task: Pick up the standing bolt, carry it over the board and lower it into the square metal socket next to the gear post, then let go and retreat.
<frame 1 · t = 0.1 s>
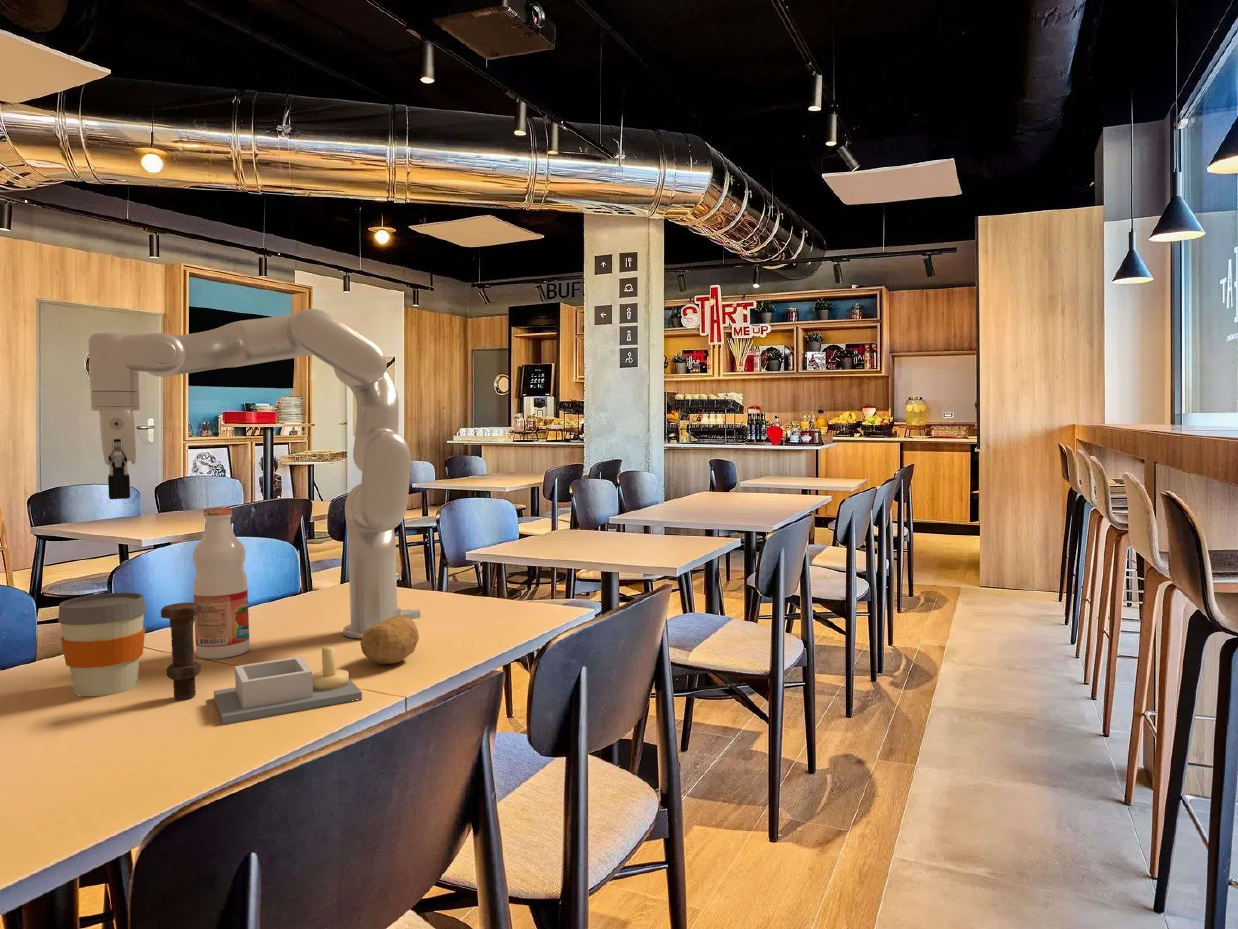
hand: (119, 496, 151), 31 cm above the table, tool pointing down, fingers open, 9 cm apart
bolt: (185, 698, 134), on the table
fruit juice: (223, 654, 161), on the table
potato: (391, 662, 153), on the table
reusable coffee cup: (106, 689, 140), on the table
board: (287, 699, 133), on the table
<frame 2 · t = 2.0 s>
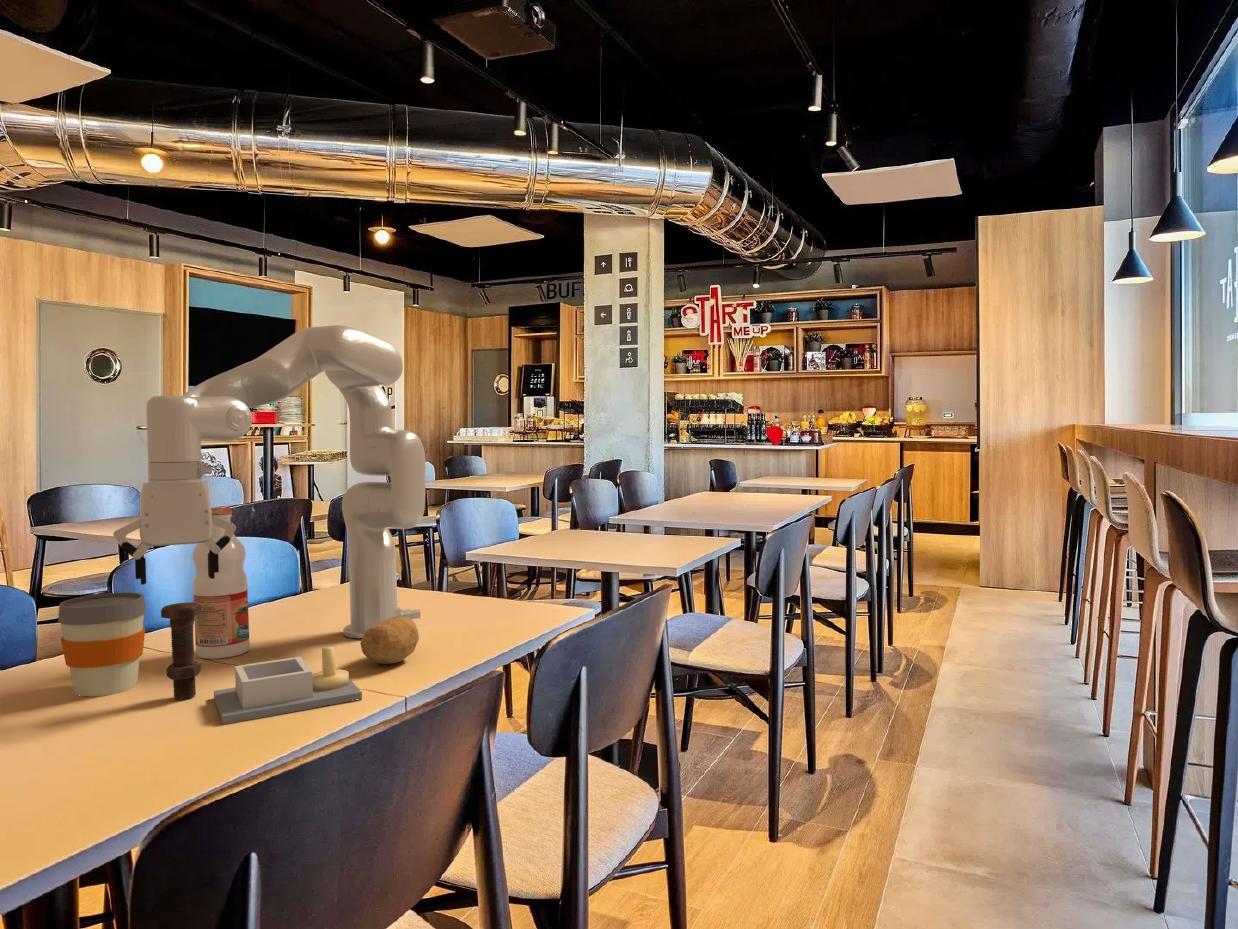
hand: (178, 580, 133), 19 cm above the table, tool pointing down, fingers open, 9 cm apart
nothing on the table moved.
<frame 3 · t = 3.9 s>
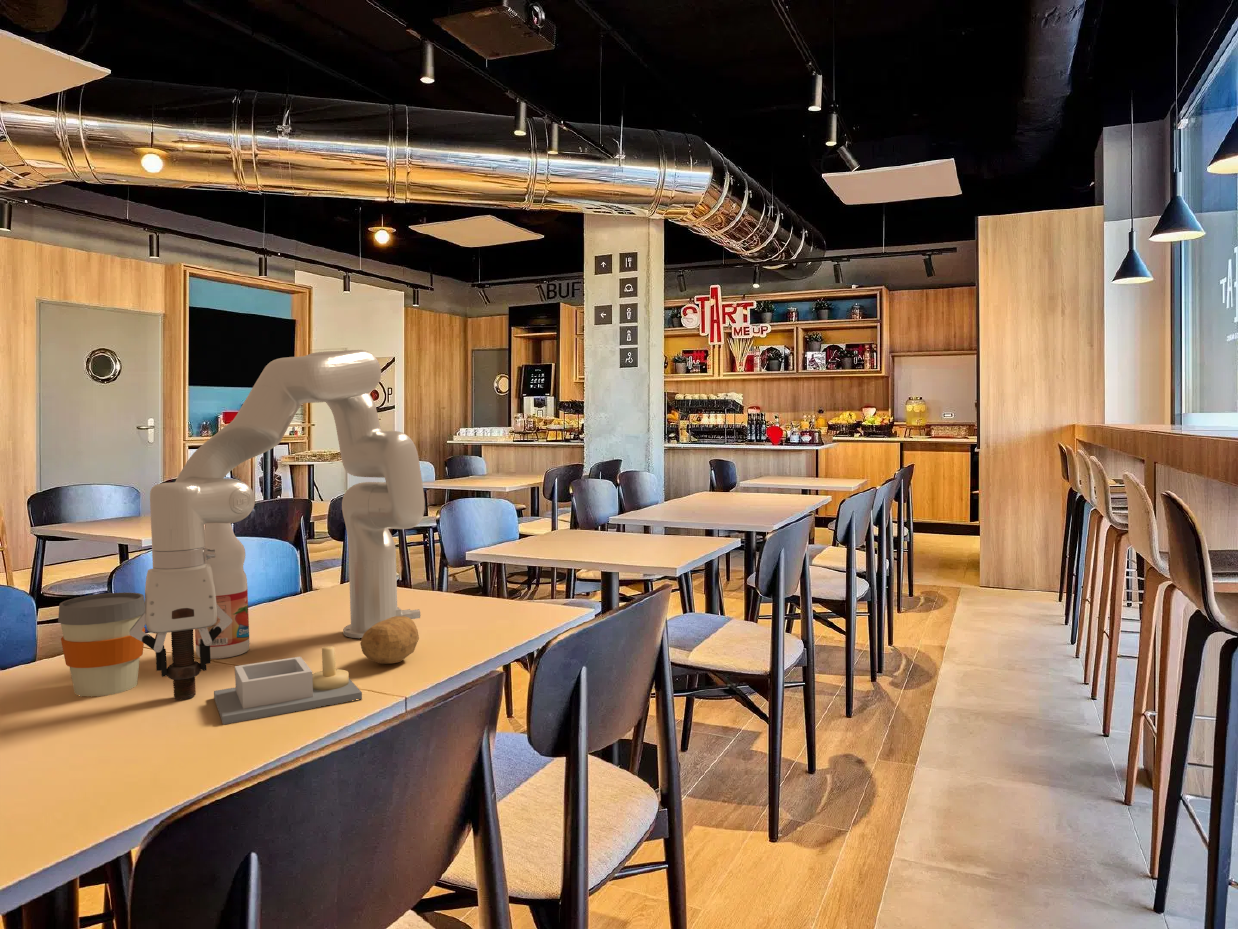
hand: (183, 670, 134), 4 cm above the table, tool pointing down, fingers closed on bolt, 5 cm apart
bolt: (184, 698, 134), on the table, touching gripper
everything else where it was.
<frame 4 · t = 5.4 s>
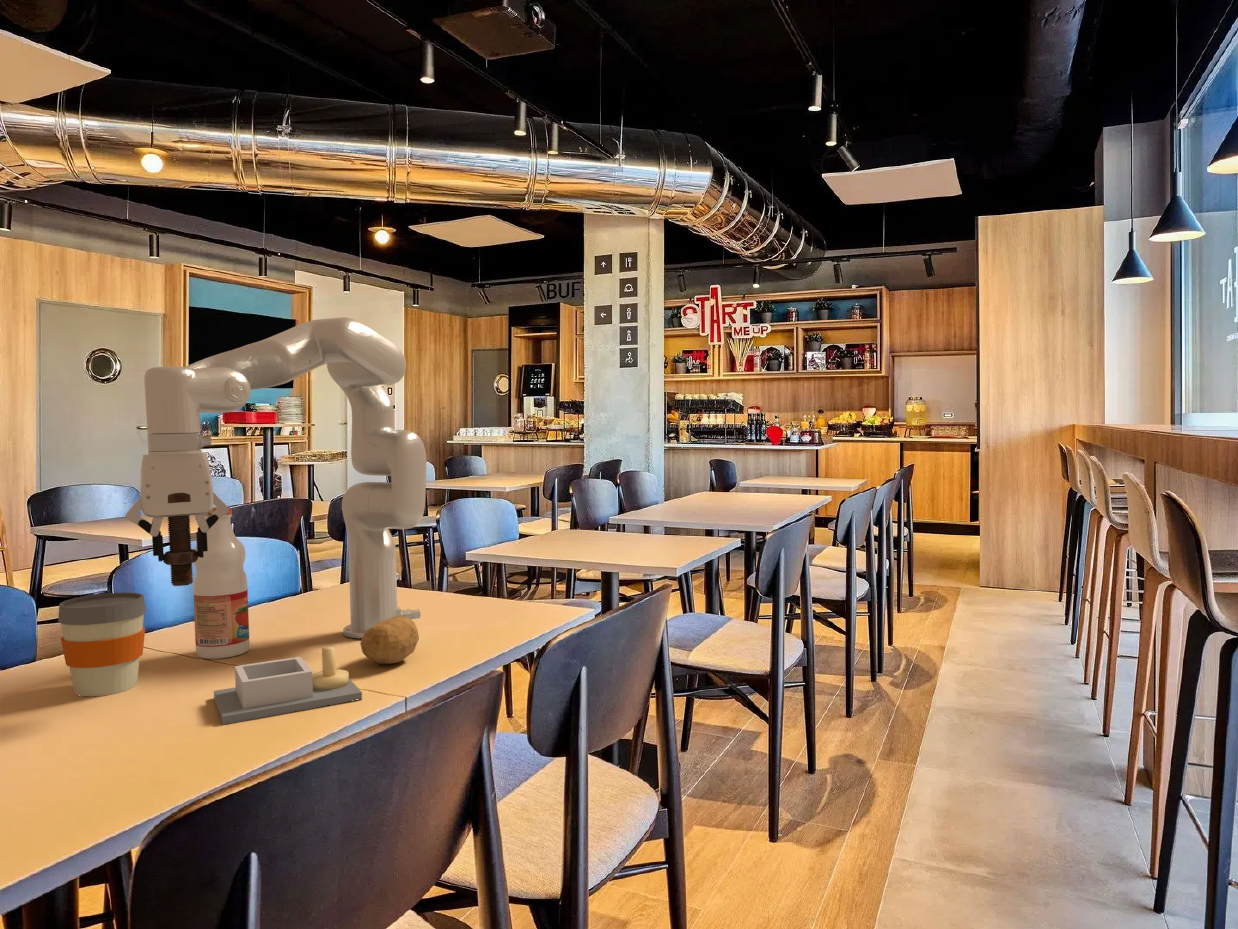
hand: (180, 557, 133), 23 cm above the table, tool pointing down, fingers closed on bolt, 5 cm apart
bolt: (182, 585, 134), point 18 cm above the table, touching gripper
everything else where it was.
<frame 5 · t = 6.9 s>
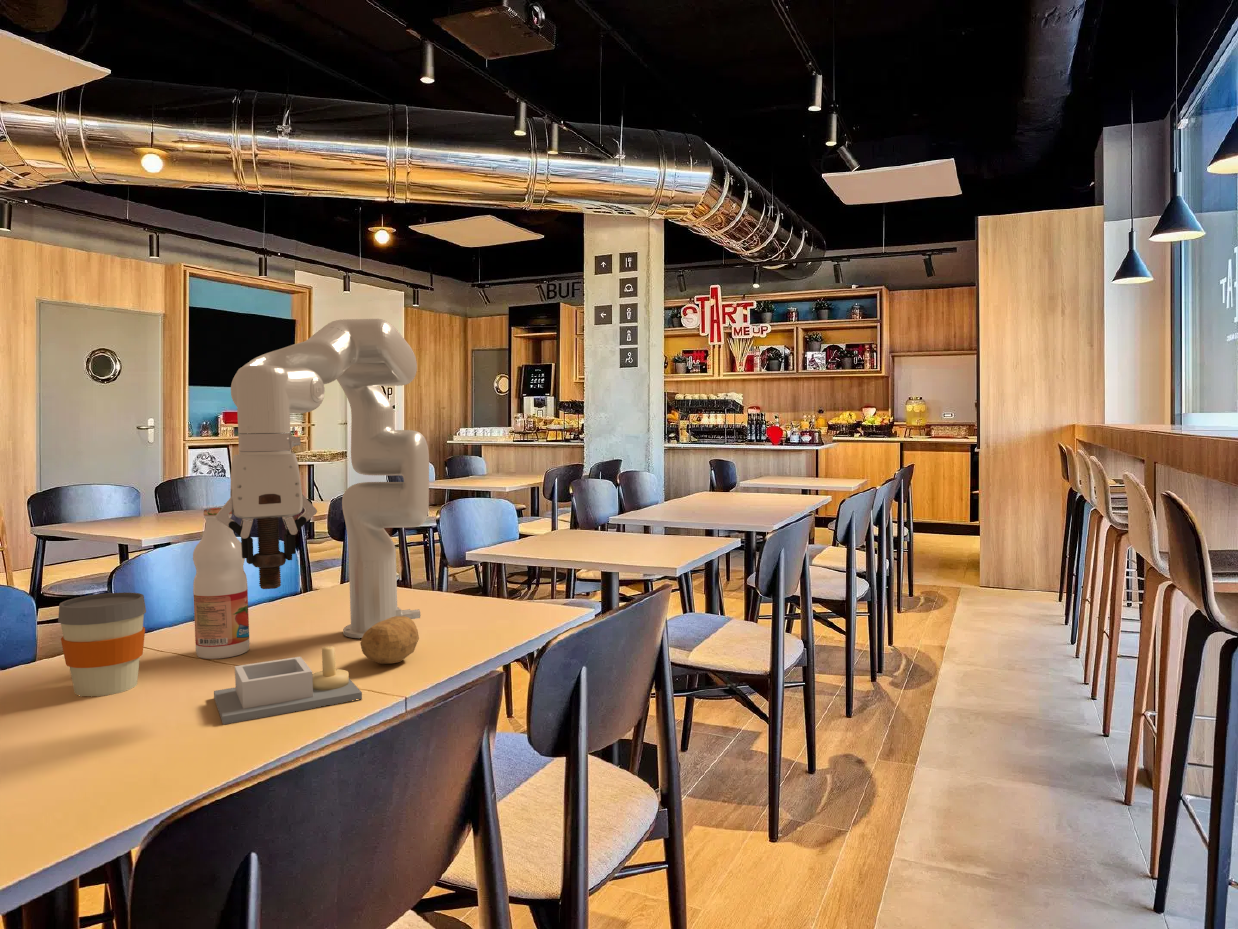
hand: (269, 559, 131), 23 cm above the table, tool pointing down, fingers closed on bolt, 5 cm apart
bolt: (270, 589, 131), point 18 cm above the table, touching gripper
everything else where it was.
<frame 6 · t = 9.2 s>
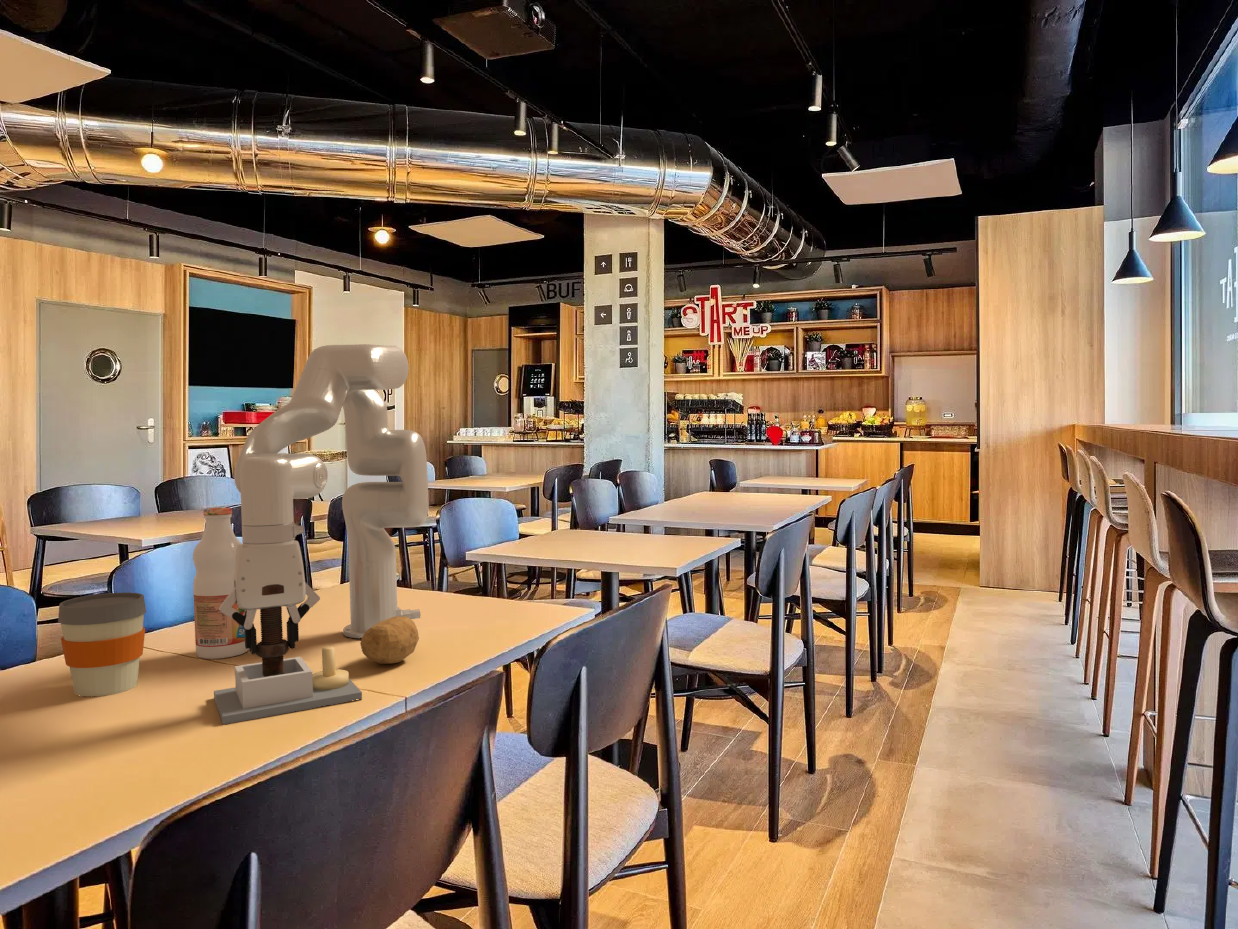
hand: (272, 648, 131), 8 cm above the table, tool pointing down, fingers closed on bolt, 5 cm apart
bolt: (273, 677, 131), point 4 cm above the table, touching gripper
everything else where it was.
when the fingers open (7 cm above the table, at t = 10.0 s): bolt drops 2 cm, resting on board.
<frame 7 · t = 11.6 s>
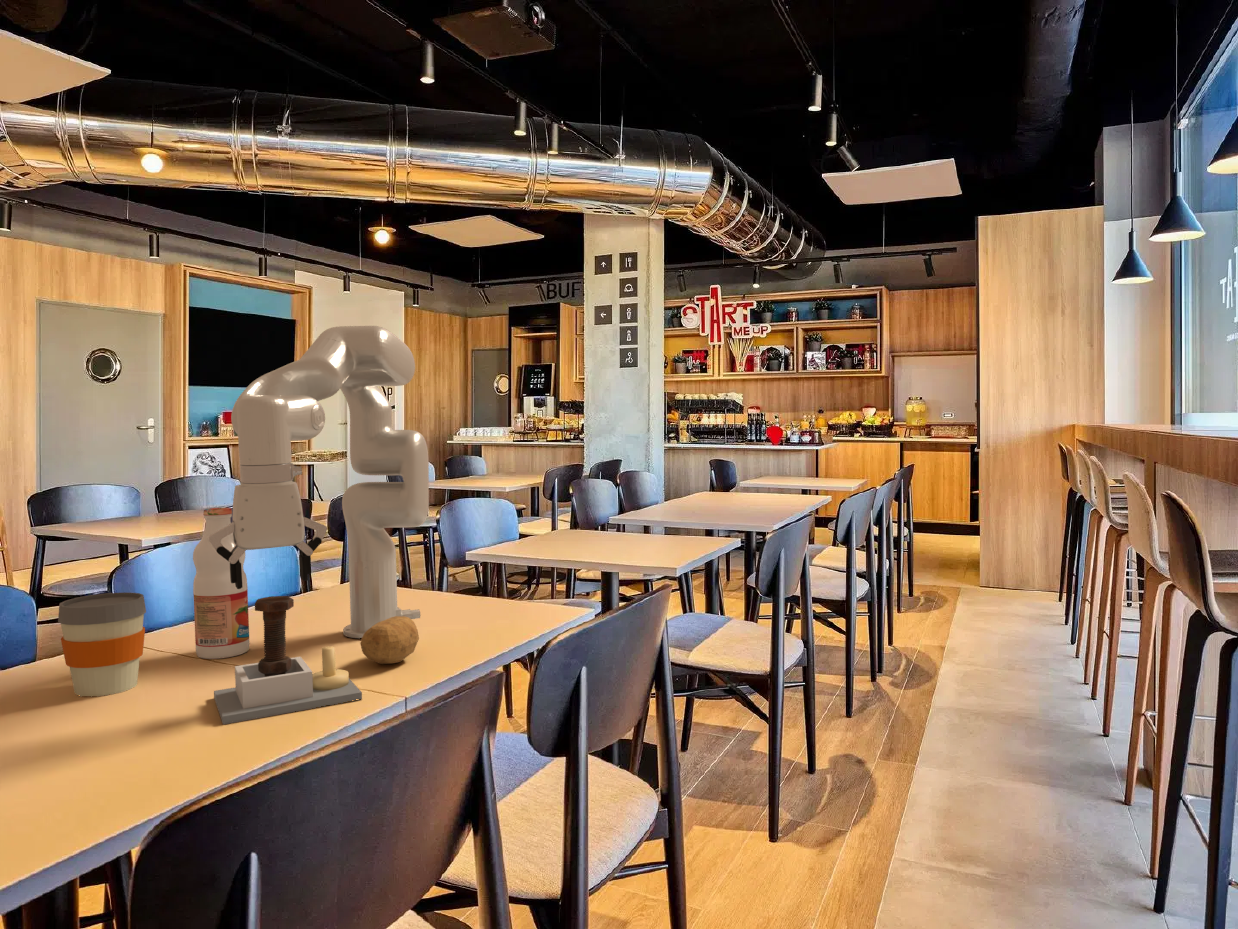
hand: (272, 583, 131), 19 cm above the table, tool pointing down, fingers open, 9 cm apart
bolt: (275, 694, 132), point 1 cm above the table, touching board
everything else where it was.
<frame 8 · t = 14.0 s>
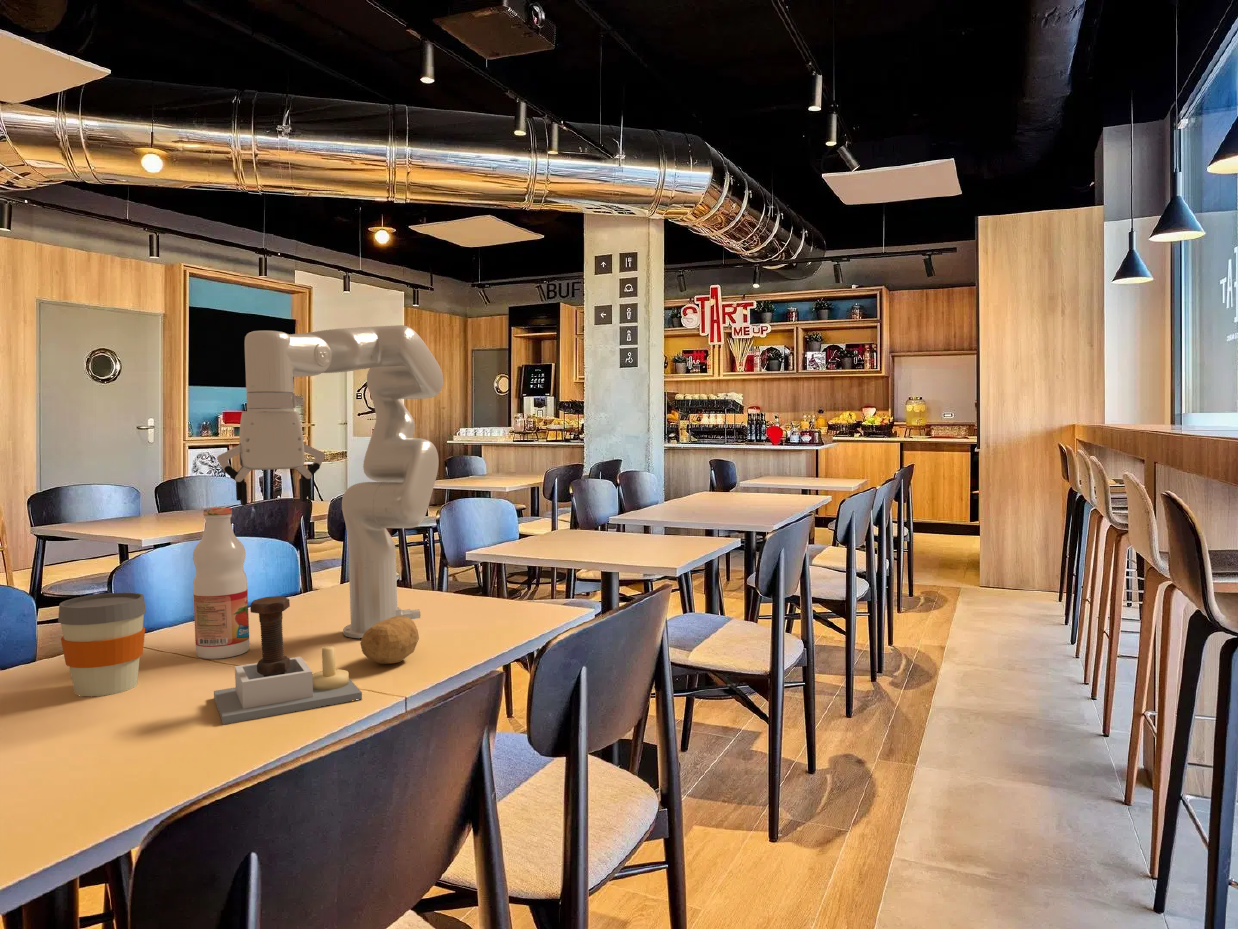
hand: (274, 502, 144), 30 cm above the table, tool pointing down, fingers open, 9 cm apart
nothing on the table moved.
at the end: bolt 0.2 cm from the target spot on the board, point 1.0 cm above the board's base; bolt tilted 1°; the gripper is holding nothing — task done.
